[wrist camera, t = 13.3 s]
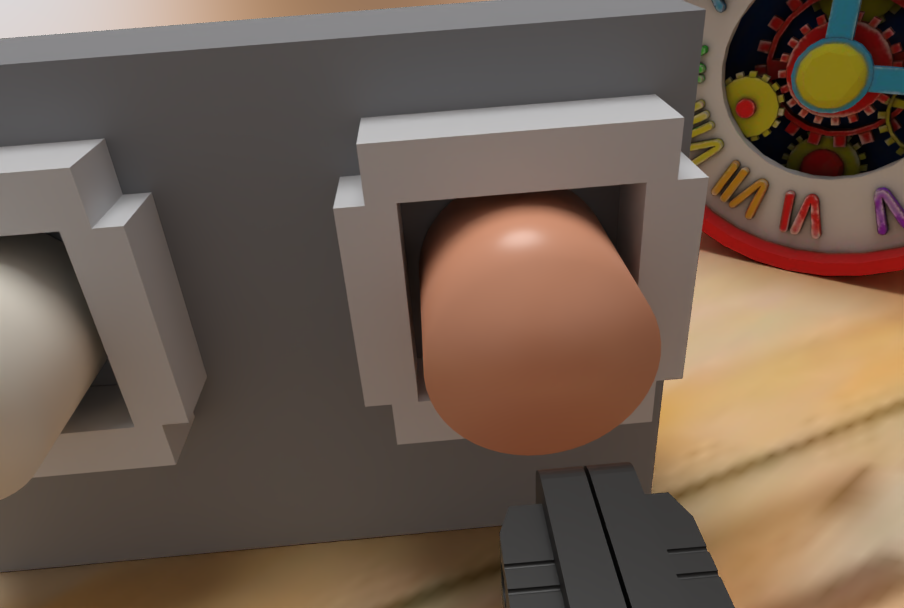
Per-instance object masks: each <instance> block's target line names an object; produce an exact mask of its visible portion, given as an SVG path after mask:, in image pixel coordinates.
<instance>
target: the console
mask: <svg viewBox="0 0 904 608" xmlns="http://www.w3.org/2000/svg"><path fill="white" fill-rule="evenodd" d="M705 15H706V9H703V8H701V7H698V6H695V5H693V4H690V3H688V2H685V1H683V0H495V1H481V2H468V3H456V4H442V5H429V6H417V7H405V8H390V9H377V10H365V11H352V12H339V13H327V14H313V15H301V16H288V17H274V18H262V19H249V20H236V21H223V22H209V23H196V24H185V25H184V24H183V25H170V26H159V27H146V28H133V29H119V30H106V31H94V32H81V33H67V34H54V35H41V36H28V37H16V38H2V39H0V236H10V235H22V234H34V233H45V234H47V235H50V236H52V237H53V238H55V239H57V240H59V241H61V242H63V243H64V245H65V247H66V250H67V252H68V255H69V258H70V260H71V263H72V265H73V268H74V271H75V273H76V276H77V278H78V281H79V284H80V286H81V289H82V291H83V294H84V297H85V299H86V302H87V304H88V307H89V310H90V312H91V315H92V317H93V320H94V323H95V325H96V328H97V330H98V333H99V336H100V338H101V341H102V343H103V346H104V349H105V351H106V354H107V356H108V358H107V360H106V362H105V363H104V365H103V366H102V368H101V370H100V371H99V373H98V374H97V376H96V378H95V379H94V381H93V382H92V384H91V385H90V387H89V389H88V390H87V392H86V393H85V395H84V397H83V398H82V400H81V401H80V403H79V405H78V406H77V408H76V409H75V411H74V413H73V414H72V416H71V417H70V419H69V420H68V422H67V424H66V425H65V427H64V428H63V430H62V432H61V433H60V435H59V436H58V438H57V440H56V441H55V443H54V444H53V446H52V448H51V449H50V451H49V452H48V454H47V456H46V457H45V459H44V460H43V462H42V463H41V465H40V467H39V468H38V470H37V471H36V473H35V475H34V476H33V477H32V478H31V480H30V481H29V482H28V483H27V484H26V485H25V486H23V487H22V488H21V489H19V490H18V491H17V492H15V493H13V494H12V495H10V496H8V497H6V498H4V499H1V500H0V572H9V571H19V570H30V569H41V568H51V567H62V566H73V565H84V564H94V563H105V562H116V561H126V560H137V559H148V558H159V557H169V556H180V555H191V554H201V553H212V552H223V551H234V550H244V549H255V548H266V547H277V546H287V545H298V544H309V543H319V542H330V541H341V540H352V539H362V538H373V537H384V536H394V535H405V534H416V533H427V532H437V531H448V530H459V529H469V528H480V527H491V526H502V525H503V522H504V519H505V516H506V513H507V511H508V508H509V506H520V505H531V504H536V471H537V470H542V469H554V468H566V467H577V466H582V467H584V466H586V465H598V464H610V463H621V462H630V463H631V464H632V465H633V467H634V469H635V471H636V474H637V476H638V479H639V481H640V484H641V486H642V489H643V491H644V494H651V488H652V479H653V470H654V462H655V453H656V444H657V435H658V427H659V418H660V409H661V400H662V391H663V383H664V380H671V379H682V378H683V370H684V363H685V355H686V347H687V340H688V332H689V325H690V317H691V309H692V302H693V294H694V286H695V279H696V271H697V264H698V256H699V248H700V241H701V233H702V225H703V218H704V210H705V202H706V195H707V187H708V180H709V177H708V176H707V175H706V174H705V173H704V172H703V171H701V170H700V169H699V168H698V167H697V166H696V165H695V164H694V163H693V162H692V161H691V160H690V159H689V155H690V146H691V137H692V129H693V120H694V111H695V102H696V94H697V85H698V76H699V67H700V59H701V50H702V41H703V32H704V24H705ZM562 189H568V190H570V191H572V192H573V193H575V194H576V195H577V196H578V197H580V198H581V199H582V200H583V201H584V202H585V203H586V204H587V205H588V206H589V207H590V208H591V210H592V211H593V213H594V214H595V215H596V217H597V218H598V220H599V222H600V223H601V225H602V227H603V228H604V230H605V232H606V233H607V235H608V237H609V239H610V240H611V242H612V244H613V245H614V247H615V249H616V250H617V252H618V254H619V255H620V257H621V259H622V260H623V262H624V264H625V265H626V267H627V269H628V270H629V272H630V274H631V275H632V277H633V279H634V280H635V282H636V284H637V285H638V287H639V289H640V290H641V292H642V294H643V295H644V297H645V299H646V300H647V302H648V304H649V305H650V307H651V309H652V311H653V313H654V315H655V317H656V320H657V324H658V327H659V330H660V338H661V357H660V362H659V368H658V371H657V374H656V377H655V379H654V382H653V384H652V386H651V388H650V390H649V392H648V393H647V395H646V396H645V398H644V399H643V401H642V402H641V404H640V405H639V406H638V407H637V408H636V409H635V410H634V412H633V413H632V414H631V415H630V416H629V417H628V418H626V419H625V420H624V421H623V422H622V423H621V424H620V425H618V426H617V427H615V428H614V429H613V430H611V431H610V432H608V433H607V434H605V435H603V436H601V437H600V438H598V439H596V440H594V441H592V442H589V443H587V444H585V445H582V446H580V447H577V448H574V449H571V450H567V451H563V452H559V453H553V454H546V455H529V456H527V455H513V454H506V453H500V452H497V451H493V450H490V449H486V448H484V447H481V446H479V445H476V444H474V443H472V442H471V441H469V440H467V439H465V438H463V437H462V436H461V435H459V434H458V433H457V432H455V431H454V430H453V429H452V428H451V427H449V426H448V425H447V424H446V423H445V422H444V421H443V419H442V418H441V417H440V415H439V414H438V413H437V411H436V410H435V408H434V406H433V404H432V403H431V401H430V398H429V395H428V393H427V390H426V385H425V380H424V369H423V348H422V326H421V304H420V283H419V259H420V252H421V248H422V244H423V241H424V239H425V236H426V234H427V232H428V230H429V228H430V226H431V225H432V223H433V221H434V220H435V219H436V217H437V216H438V215H439V214H440V212H441V211H442V210H443V209H444V208H445V207H446V206H447V205H448V204H449V203H450V202H451V201H453V200H454V199H456V198H466V197H478V196H490V195H502V194H514V193H526V192H538V191H550V190H562Z"/></svg>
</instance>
